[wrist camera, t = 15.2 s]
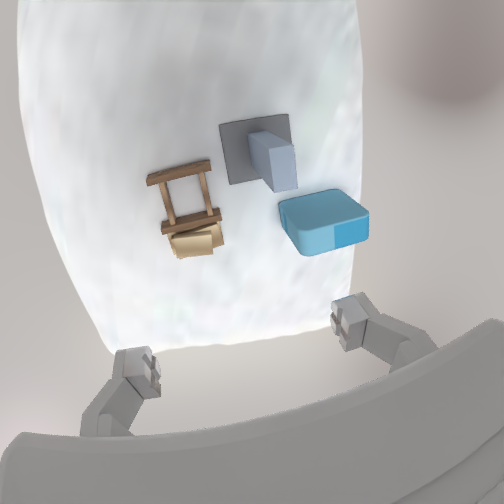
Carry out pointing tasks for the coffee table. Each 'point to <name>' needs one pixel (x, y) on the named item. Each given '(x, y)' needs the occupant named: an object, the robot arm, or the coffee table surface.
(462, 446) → the robot arm
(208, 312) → the coffee table surface
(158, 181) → the rack
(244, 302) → the coffee table surface
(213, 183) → the coffee table surface
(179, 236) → the offcut stack
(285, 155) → the pale blue pillar
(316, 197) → the data package
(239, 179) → the felt mat
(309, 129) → the coffee table surface
